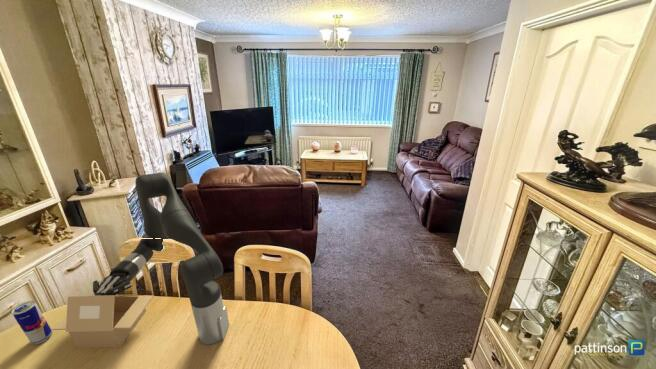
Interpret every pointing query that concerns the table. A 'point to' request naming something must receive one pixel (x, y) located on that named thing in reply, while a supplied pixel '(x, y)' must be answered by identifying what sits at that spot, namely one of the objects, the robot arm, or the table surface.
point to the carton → (124, 322)
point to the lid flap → (90, 313)
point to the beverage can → (32, 322)
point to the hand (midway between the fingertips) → (92, 304)
